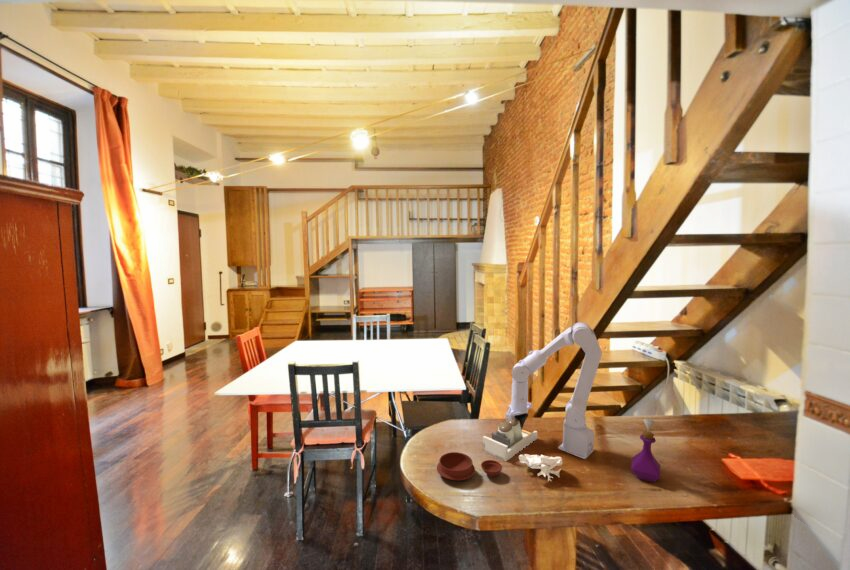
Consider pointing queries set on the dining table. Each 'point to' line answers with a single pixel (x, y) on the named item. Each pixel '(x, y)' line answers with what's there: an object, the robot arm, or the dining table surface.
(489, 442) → the tray
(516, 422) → the jar
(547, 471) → the white irregular branching piece
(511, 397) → the robot arm
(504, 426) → the stocked jar
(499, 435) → the pusher
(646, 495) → the dining table surface
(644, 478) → the perfume bottle
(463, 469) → the pottery
